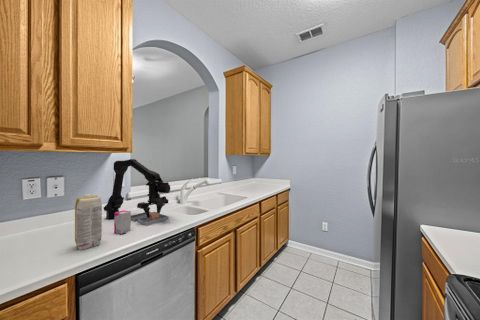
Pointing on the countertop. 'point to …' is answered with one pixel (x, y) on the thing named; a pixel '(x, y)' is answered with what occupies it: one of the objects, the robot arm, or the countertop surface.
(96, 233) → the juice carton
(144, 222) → the tray
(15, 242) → the countertop surface
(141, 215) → the bin
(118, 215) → the supplement box
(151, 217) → the brown cube
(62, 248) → the countertop surface
